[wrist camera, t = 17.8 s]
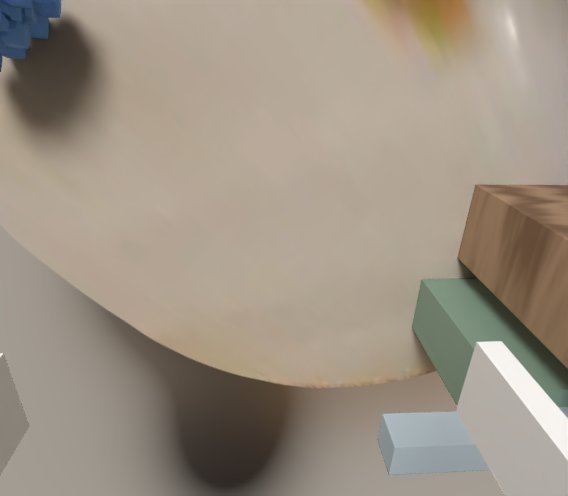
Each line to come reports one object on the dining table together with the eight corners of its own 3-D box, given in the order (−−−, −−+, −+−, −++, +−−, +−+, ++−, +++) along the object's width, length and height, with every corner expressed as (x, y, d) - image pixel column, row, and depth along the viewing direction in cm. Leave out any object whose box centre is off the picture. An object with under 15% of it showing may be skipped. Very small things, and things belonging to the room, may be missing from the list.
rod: (377, 440, 38) (388, 475, 35) (382, 413, 37) (394, 447, 33) (669, 428, 40) (704, 459, 37) (685, 402, 39) (724, 433, 36)
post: (411, 327, 58) (483, 451, 40) (421, 279, 54) (505, 391, 36) (465, 326, 58) (559, 447, 41) (478, 278, 55) (588, 388, 37)
